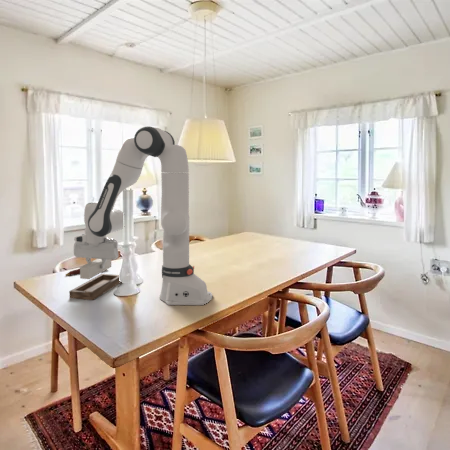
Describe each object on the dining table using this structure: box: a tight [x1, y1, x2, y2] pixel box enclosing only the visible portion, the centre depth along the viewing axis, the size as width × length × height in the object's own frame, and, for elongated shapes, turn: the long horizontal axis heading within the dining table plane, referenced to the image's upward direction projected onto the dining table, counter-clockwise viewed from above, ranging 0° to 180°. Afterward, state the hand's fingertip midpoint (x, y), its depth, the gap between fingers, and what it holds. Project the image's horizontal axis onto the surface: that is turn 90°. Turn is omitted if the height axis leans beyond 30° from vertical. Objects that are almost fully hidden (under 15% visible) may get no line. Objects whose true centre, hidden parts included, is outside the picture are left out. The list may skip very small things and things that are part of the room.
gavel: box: [65, 259, 95, 277], centre depth 189 cm, size 21×5×10 cm
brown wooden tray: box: [68, 273, 120, 301], centre depth 162 cm, size 11×26×3 cm, turn 169°
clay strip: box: [79, 259, 112, 280], centre depth 161 cm, size 4×20×5 cm, turn 171°
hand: (96, 267), depth 161 cm, fingers closed on clay strip, 4 cm apart
